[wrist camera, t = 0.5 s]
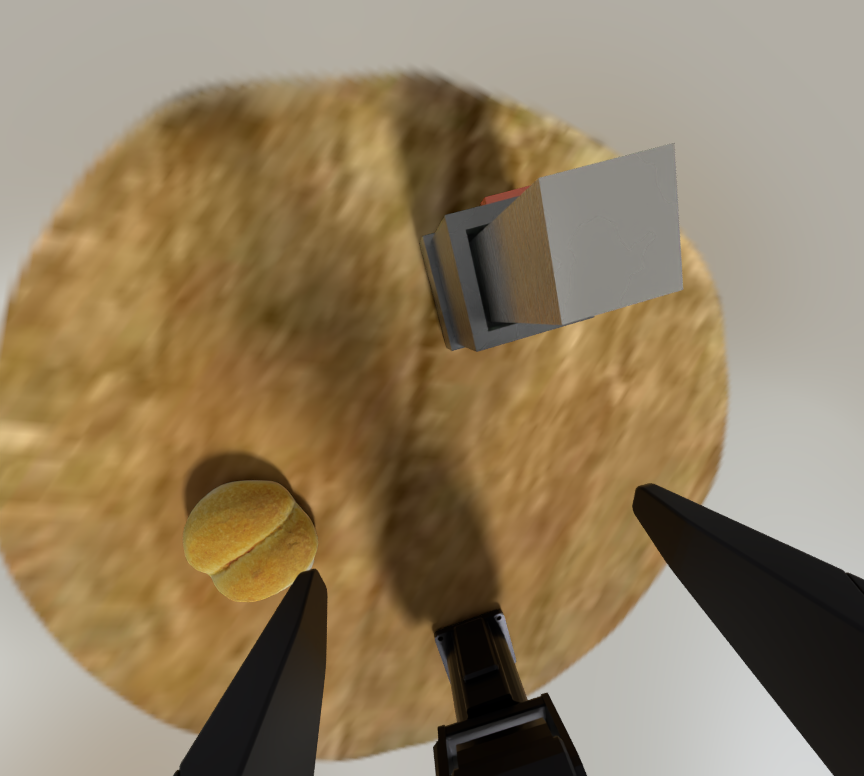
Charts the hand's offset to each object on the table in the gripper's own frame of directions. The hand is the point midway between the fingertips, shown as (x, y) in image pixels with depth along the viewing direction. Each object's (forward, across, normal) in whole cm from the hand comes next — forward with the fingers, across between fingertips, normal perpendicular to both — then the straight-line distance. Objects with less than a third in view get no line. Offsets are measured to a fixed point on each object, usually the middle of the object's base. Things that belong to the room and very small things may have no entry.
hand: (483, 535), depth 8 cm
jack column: (+14, -6, -4) cm, 16 cm away
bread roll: (+13, +14, +11) cm, 22 cm away
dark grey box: (+16, -6, -3) cm, 18 cm away
